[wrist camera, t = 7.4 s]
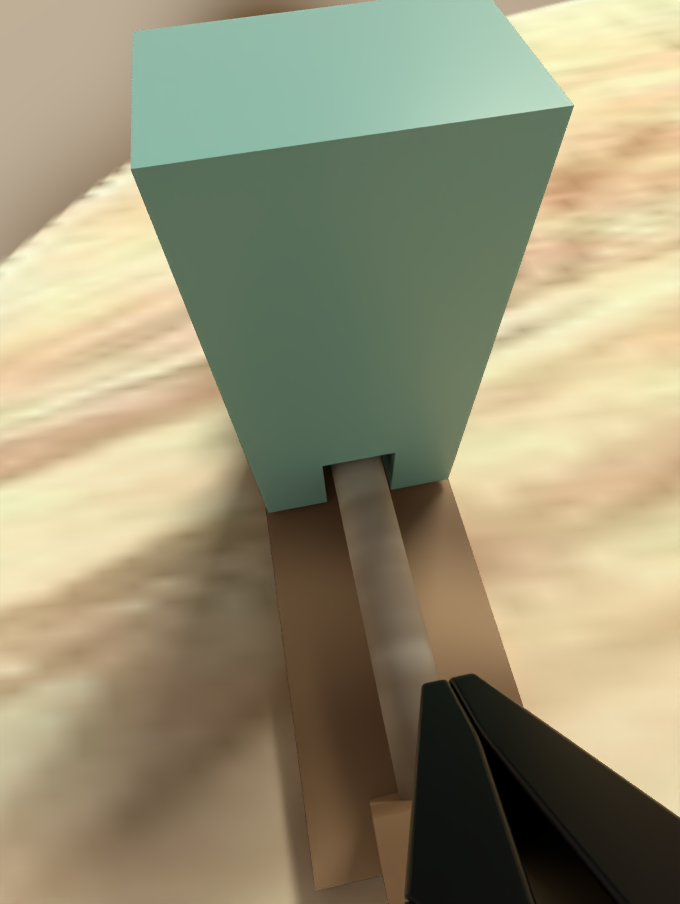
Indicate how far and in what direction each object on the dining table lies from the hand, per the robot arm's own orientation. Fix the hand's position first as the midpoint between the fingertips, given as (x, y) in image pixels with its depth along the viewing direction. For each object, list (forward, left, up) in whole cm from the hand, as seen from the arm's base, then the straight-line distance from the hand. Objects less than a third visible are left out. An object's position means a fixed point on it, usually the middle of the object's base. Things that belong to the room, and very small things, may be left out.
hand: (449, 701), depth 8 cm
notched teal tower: (+9, +2, -7) cm, 11 cm away
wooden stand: (+6, +1, -8) cm, 10 cm away
